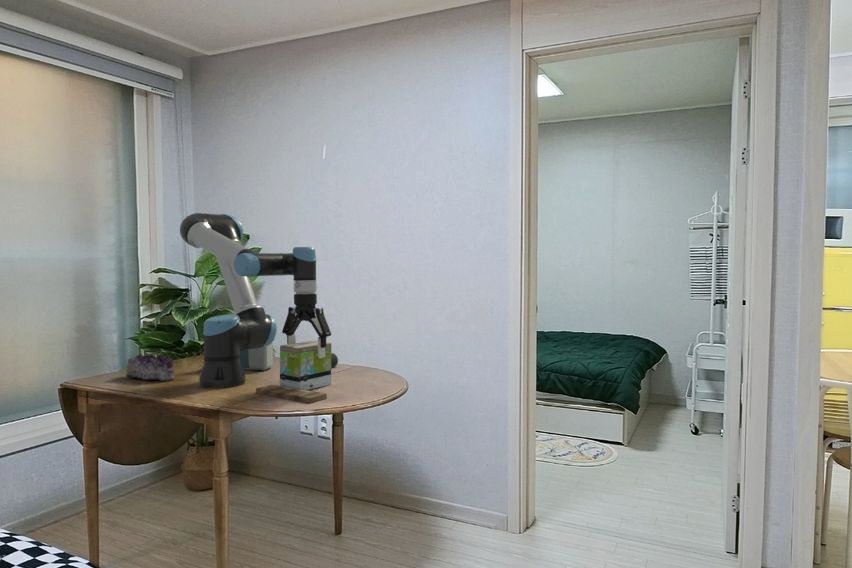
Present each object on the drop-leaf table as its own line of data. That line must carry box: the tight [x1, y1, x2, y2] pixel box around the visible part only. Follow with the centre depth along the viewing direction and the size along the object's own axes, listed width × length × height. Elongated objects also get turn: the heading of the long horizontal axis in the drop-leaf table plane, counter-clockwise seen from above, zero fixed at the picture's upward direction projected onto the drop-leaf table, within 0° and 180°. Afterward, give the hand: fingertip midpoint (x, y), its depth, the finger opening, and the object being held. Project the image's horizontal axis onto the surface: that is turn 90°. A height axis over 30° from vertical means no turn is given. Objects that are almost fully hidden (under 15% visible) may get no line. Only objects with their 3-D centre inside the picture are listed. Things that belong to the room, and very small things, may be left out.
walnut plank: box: [255, 384, 328, 404], centre depth 187 cm, size 24×7×2 cm, turn 57°
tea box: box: [279, 340, 332, 391], centre depth 200 cm, size 15×10×15 cm, turn 147°
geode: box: [125, 353, 176, 383], centre depth 215 cm, size 20×12×10 cm, turn 66°
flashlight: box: [331, 352, 339, 368], centre depth 231 cm, size 15×5×5 cm, turn 146°
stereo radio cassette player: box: [240, 341, 274, 372], centre depth 232 cm, size 21×8×20 cm, turn 77°
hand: (306, 356), depth 200 cm, fingers open, 13 cm apart
